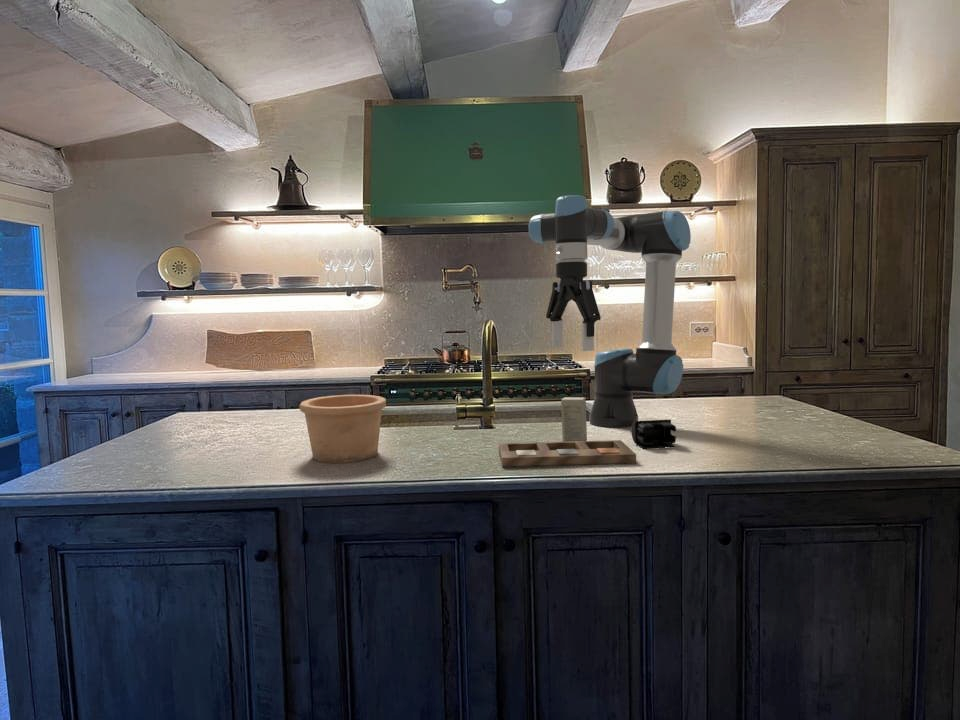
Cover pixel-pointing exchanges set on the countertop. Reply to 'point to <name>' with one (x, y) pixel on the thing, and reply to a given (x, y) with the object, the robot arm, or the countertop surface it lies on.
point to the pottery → (343, 427)
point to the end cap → (653, 433)
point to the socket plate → (565, 454)
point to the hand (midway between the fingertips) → (572, 348)
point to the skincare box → (574, 419)
